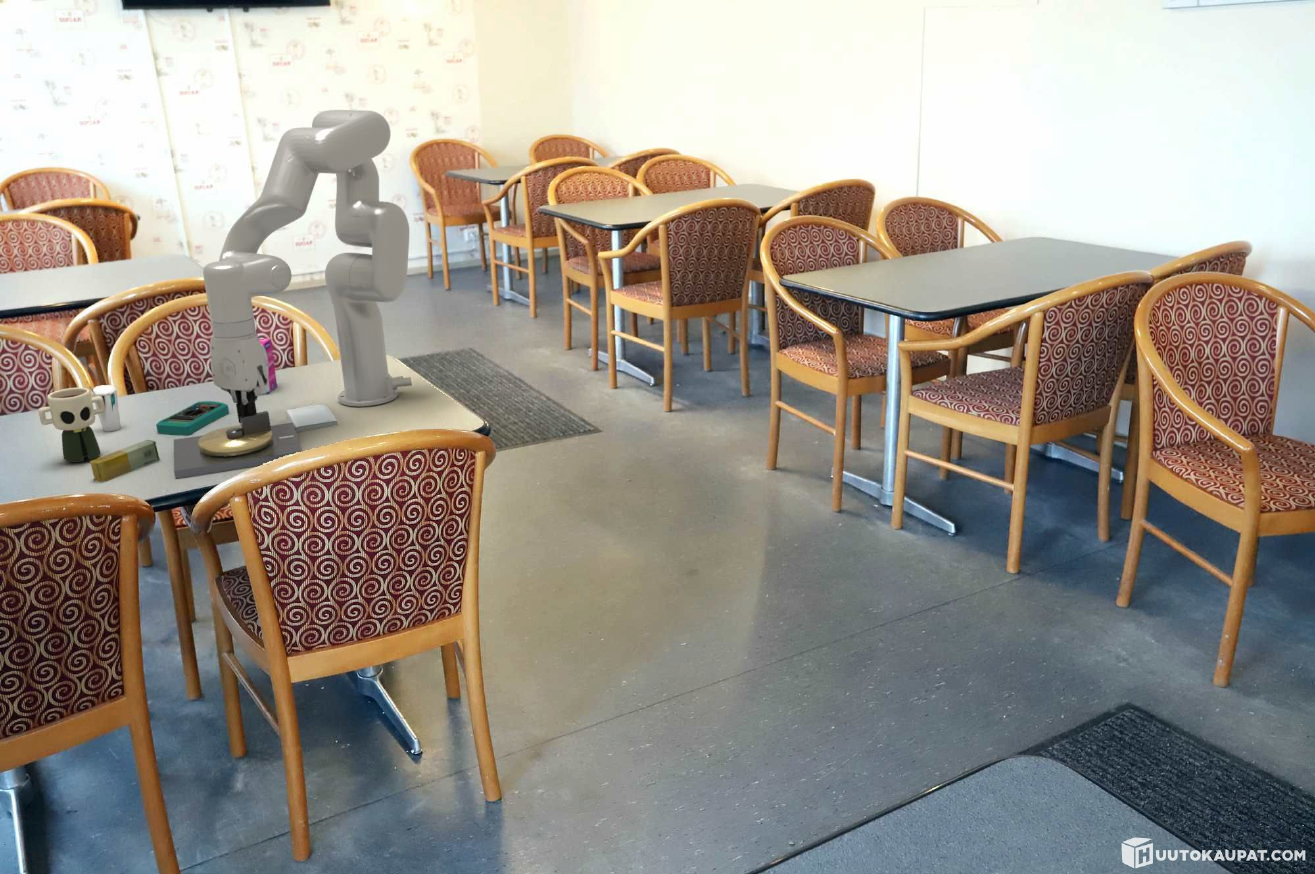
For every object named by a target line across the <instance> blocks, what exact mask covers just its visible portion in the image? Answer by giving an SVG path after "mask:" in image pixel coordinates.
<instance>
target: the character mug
mask: <svg viewBox="0 0 1315 874" xmlns="http://www.w3.org/2000/svg"><path fill="white" fill-rule="evenodd" d="M46 397H47V404H48V406H43V407H40V408H38V416H39V420H40V423H41V425H42V426H48V425H51V424H52V425H53V427H54V428H55V429H57V430H60V431H62V433H61V445H62V455H63V457H62V458H63V460H65V461H66V462H71V463H77V462H79V463H80V462H84V461H85V460H84V458H85V457H88V460H94V459H96V458H98V457H99V456H100V455H101V449H100V446H99V443H98V441H97V437H96V435H95V433H94V430H93V428H92V427H91V425H93V424H94V423H95V422H96V415H98V414H100V413H103V412H105V407H104V402H103V398H102V397H100V396H98V397H92V394H91V390H90V388H87V387H70V388H63V389H58V390H55V391H53V392H50V393H49V394H47V396H46ZM95 402H98V406H99V409H95V408H94V404H95ZM49 412H50V416H51V418H47V416H46V413H49Z"/></svg>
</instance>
